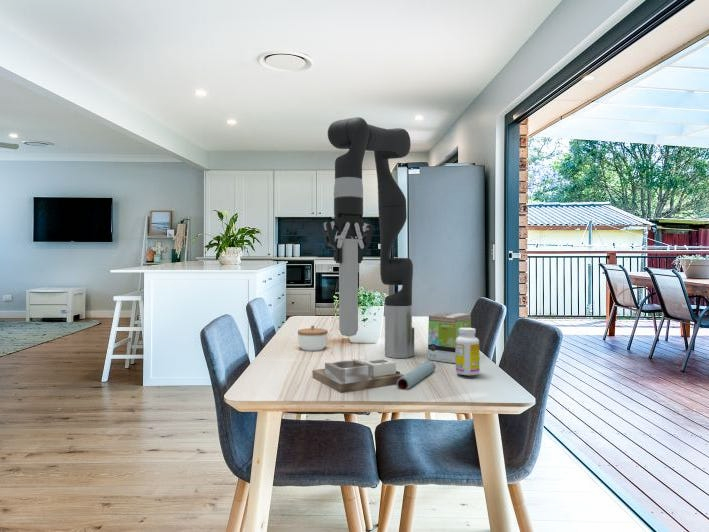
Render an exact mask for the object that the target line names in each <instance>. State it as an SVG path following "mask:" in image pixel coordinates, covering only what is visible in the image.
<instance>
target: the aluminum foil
mask: <svg viewBox="0 0 709 532" xmlns="http://www.w3.org/2000/svg"><path fill="white" fill-rule="evenodd" d="M436 368H437V366H436V364H435V362H434V360H426V361H425V362H424V363H421V365H419V366H416V367H415V368H414V369H412V370H411V371H409V372H407V373H406V374H403V375H404V376H402V377H401V378H399V379H398V380H397V384H396V386H397V388H398V389H399V390H406V391H408V390H409V389H410V388H412V387H413V386H415V385H416V384H418V383H419V382H421V381H422V380H424V379H425V378H426V377H427V376H429V375H430V374H431V373H434V371H435V370H436Z"/></svg>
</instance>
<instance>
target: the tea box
mask: <svg viewBox="0 0 709 532" xmlns="http://www.w3.org/2000/svg"><path fill="white" fill-rule="evenodd" d="M459 328H472V314H471V313H462V312H461V313H460V312H441V313H435V314H431V315H428V333H427V335H428V336H427V361H433V362H434V361H436V362H443V363H453V364H456V338H457V337H459V336H460V334H459Z"/></svg>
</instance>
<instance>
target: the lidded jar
mask: <svg viewBox="0 0 709 532" xmlns="http://www.w3.org/2000/svg"><path fill="white" fill-rule="evenodd" d="M310 327H311V328H301V329H298V330H297V339H298V340H297V341H298V346H299V347H300V348H301V350H302V351H306V352H307V351H309V352H318V351H322V350H324V349H325V347H326V346H327V341H328V329H326V328H318V327H315V325H311V326H310Z"/></svg>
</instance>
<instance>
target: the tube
mask: <svg viewBox="0 0 709 532" xmlns="http://www.w3.org/2000/svg"><path fill="white" fill-rule="evenodd" d="M358 242H359V239H352V238H345V239H344V240H343V243H342V246H341V249H342V263H338V275H339V276H338V294H339V295H338V306H339V307H338V311H339V312H338V313H339V314H338V330H339V333H340V335H342V336H345V337H347V338H349V337H353V336H356V335H357V332H358V330H359V263H358Z"/></svg>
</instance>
